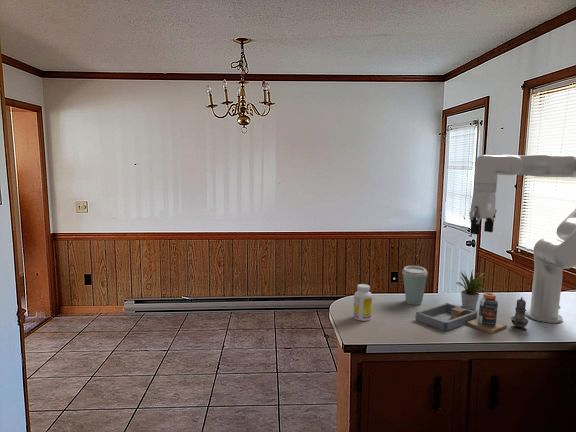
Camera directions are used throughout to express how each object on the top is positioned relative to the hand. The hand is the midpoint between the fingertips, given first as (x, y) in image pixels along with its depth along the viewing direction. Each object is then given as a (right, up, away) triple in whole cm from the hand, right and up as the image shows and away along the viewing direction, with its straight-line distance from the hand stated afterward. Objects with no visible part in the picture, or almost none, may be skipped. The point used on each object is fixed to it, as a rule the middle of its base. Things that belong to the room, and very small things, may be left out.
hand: (481, 232), depth 164 cm
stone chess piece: (+10, -35, -7) cm, 37 cm away
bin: (-14, -33, 0) cm, 36 cm away
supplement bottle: (-46, -33, 0) cm, 56 cm away
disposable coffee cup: (-21, -31, +19) cm, 42 cm away
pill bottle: (-1, -34, -6) cm, 34 cm away
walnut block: (-8, -33, +1) cm, 34 cm away
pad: (-1, -34, -6) cm, 35 cm away
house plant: (0, -32, +15) cm, 35 cm away
